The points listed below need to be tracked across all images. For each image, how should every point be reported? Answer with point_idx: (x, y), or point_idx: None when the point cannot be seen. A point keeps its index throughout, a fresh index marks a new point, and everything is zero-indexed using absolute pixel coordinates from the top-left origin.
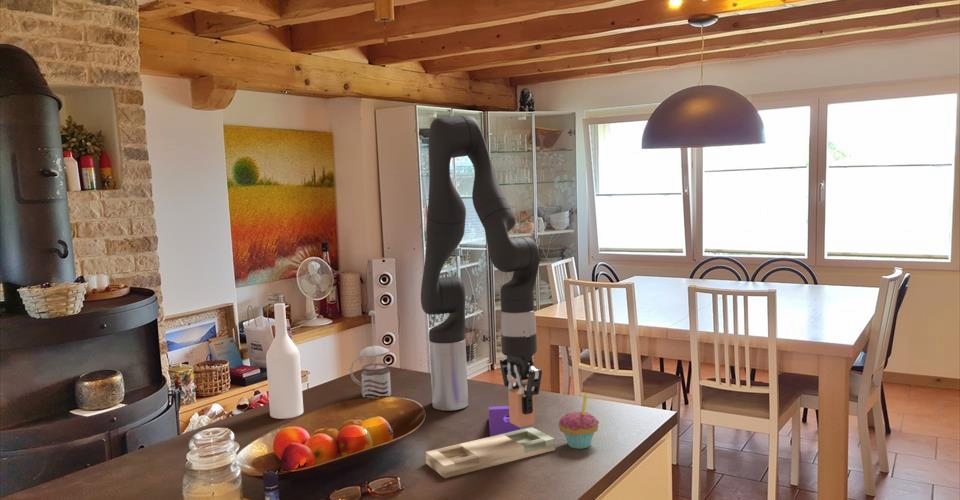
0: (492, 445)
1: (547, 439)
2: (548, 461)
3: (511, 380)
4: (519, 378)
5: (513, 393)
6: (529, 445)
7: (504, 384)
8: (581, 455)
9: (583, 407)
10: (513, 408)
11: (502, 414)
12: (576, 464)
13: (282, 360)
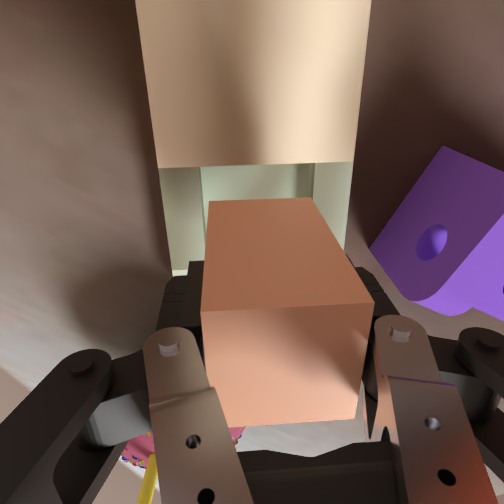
0: (244, 34)
1: None
2: (92, 213)
3: (388, 400)
4: (161, 476)
5: (279, 303)
6: (162, 195)
7: (493, 335)
8: (98, 322)
9: (142, 488)
10: (271, 238)
11: (459, 234)
12: (28, 275)
13: None
